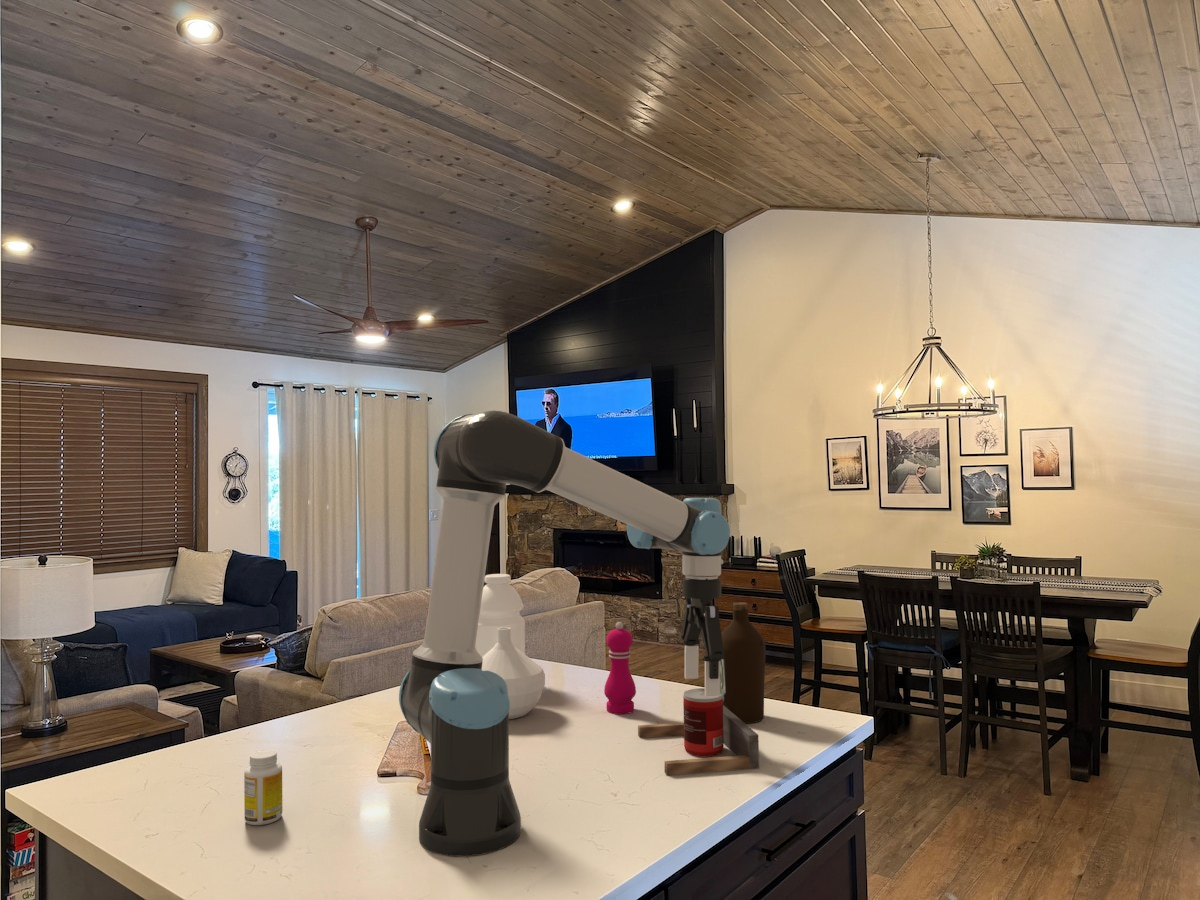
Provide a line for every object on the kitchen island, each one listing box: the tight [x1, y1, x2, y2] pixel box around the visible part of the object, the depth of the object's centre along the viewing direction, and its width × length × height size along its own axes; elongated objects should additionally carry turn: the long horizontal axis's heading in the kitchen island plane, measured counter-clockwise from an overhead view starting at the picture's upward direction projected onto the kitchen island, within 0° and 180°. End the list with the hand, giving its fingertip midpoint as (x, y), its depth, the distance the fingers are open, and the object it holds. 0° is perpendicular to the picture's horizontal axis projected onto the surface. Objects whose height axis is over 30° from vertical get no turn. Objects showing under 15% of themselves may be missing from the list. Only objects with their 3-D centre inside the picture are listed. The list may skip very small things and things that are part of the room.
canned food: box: [682, 687, 725, 758], centre depth 161 cm, size 8×8×11 cm
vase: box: [482, 627, 546, 720], centre depth 188 cm, size 18×18×19 cm
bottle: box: [475, 573, 526, 657], centre depth 213 cm, size 14×14×28 cm
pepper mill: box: [603, 621, 637, 715], centre depth 189 cm, size 7×7×20 cm
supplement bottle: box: [243, 749, 283, 826], centre depth 131 cm, size 6×6×10 cm
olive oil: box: [720, 601, 767, 724], centre depth 183 cm, size 11×11×25 cm
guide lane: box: [637, 705, 760, 776], centre depth 161 cm, size 17×23×6 cm
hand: (701, 686), depth 161 cm, fingers open, 13 cm apart
